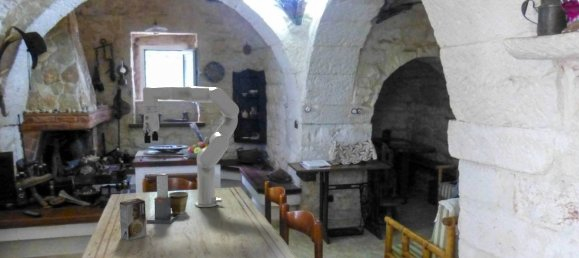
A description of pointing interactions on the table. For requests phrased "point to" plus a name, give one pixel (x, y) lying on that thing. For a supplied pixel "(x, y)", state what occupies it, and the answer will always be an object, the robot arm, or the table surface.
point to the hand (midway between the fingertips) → (151, 141)
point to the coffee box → (132, 219)
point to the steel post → (162, 185)
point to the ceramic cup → (178, 202)
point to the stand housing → (162, 211)
